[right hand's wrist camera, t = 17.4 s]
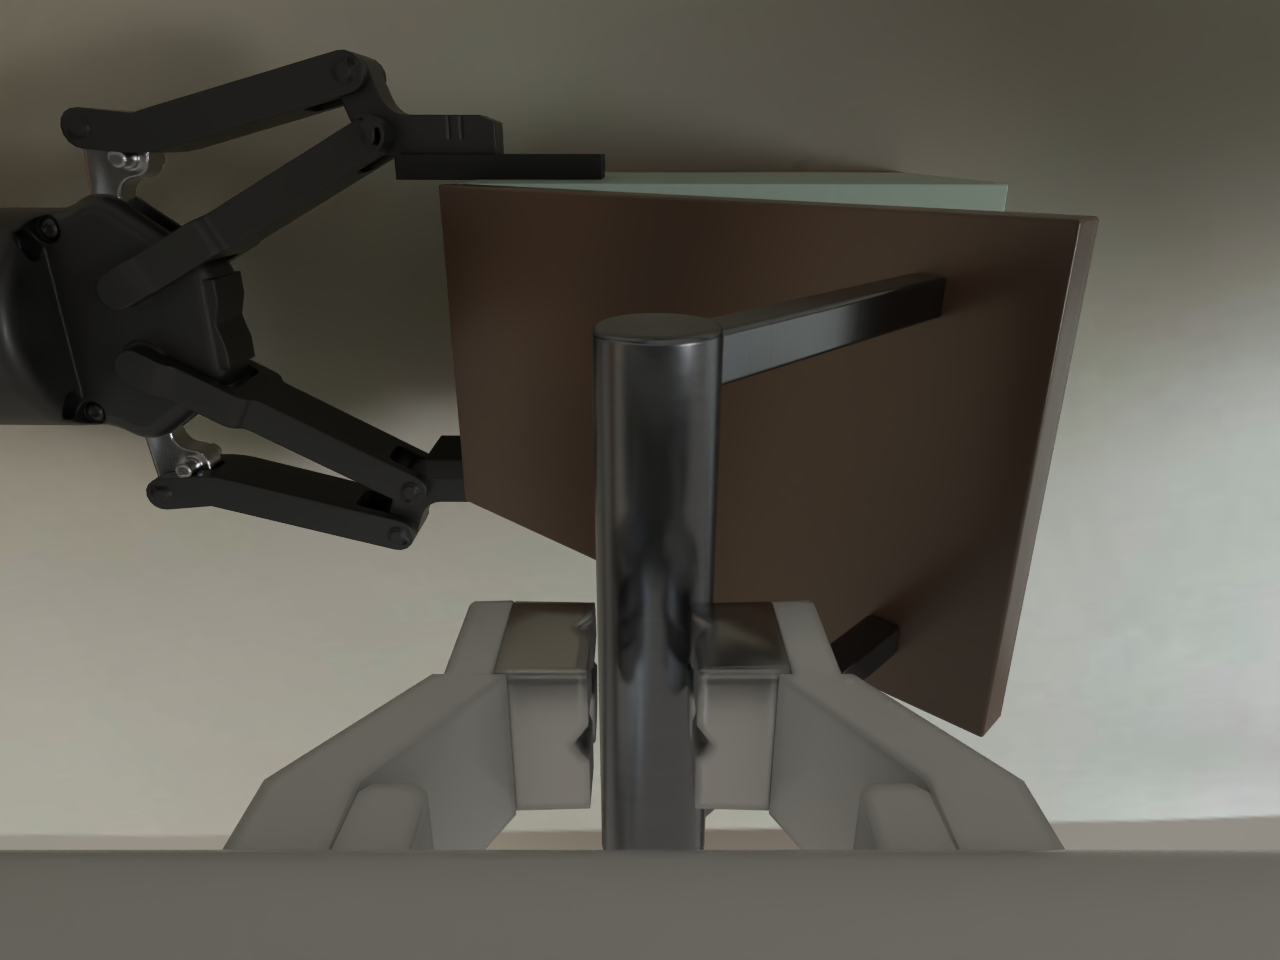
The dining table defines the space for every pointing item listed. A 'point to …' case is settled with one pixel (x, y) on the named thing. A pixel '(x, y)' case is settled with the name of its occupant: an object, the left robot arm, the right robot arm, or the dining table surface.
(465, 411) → the lid
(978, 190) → the chest
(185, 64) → the dining table surface
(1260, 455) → the dining table surface
